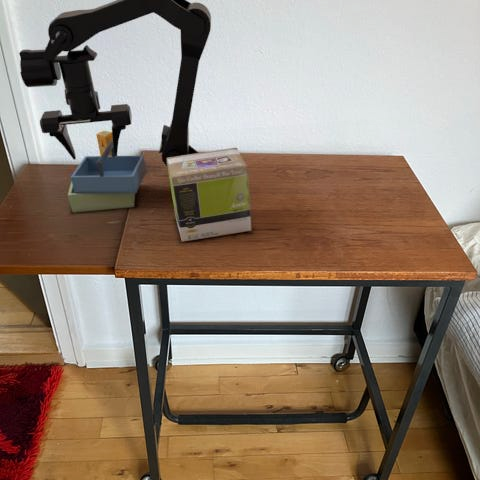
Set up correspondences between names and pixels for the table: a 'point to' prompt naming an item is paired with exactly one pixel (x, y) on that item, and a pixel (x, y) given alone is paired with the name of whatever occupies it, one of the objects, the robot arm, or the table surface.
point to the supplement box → (104, 140)
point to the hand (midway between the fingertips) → (95, 156)
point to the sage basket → (99, 201)
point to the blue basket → (109, 173)
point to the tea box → (210, 193)
